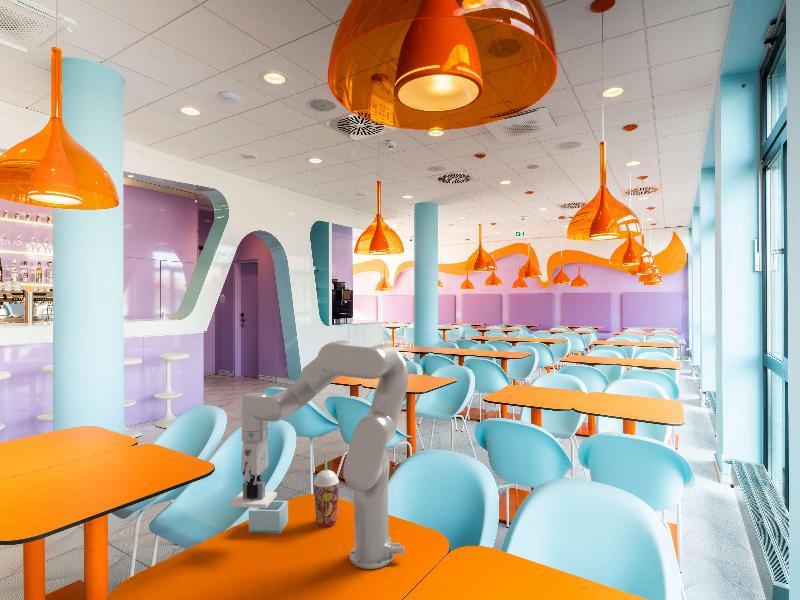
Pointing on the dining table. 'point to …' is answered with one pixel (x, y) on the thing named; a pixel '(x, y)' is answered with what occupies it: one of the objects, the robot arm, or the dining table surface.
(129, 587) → the dining table surface
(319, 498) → the smoothie
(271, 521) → the tub
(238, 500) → the lid
